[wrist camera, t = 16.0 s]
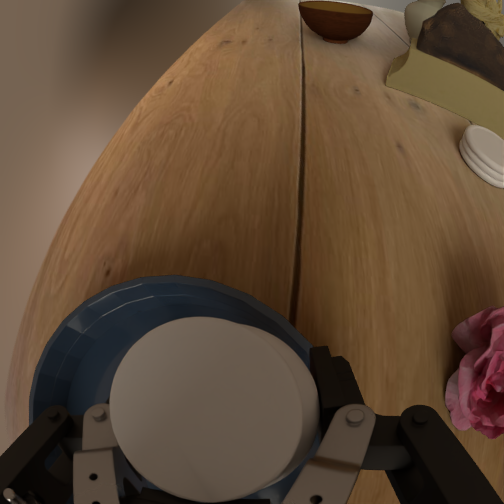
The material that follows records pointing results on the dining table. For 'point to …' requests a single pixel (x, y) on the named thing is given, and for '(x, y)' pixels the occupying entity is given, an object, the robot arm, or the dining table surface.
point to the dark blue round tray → (134, 328)
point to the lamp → (420, 15)
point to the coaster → (484, 154)
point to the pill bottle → (213, 409)
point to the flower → (479, 374)
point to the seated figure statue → (458, 63)
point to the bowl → (335, 19)
